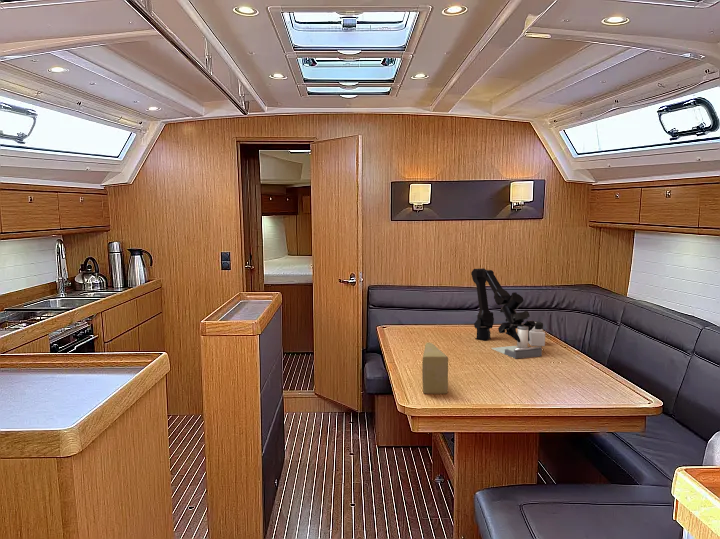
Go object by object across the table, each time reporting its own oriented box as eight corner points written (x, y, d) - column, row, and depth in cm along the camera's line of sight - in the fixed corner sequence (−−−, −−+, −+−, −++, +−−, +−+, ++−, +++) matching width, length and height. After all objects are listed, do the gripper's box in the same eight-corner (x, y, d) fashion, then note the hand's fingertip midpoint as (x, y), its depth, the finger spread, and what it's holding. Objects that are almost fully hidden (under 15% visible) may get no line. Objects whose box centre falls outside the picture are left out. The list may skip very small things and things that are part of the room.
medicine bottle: (541, 342, 262) (542, 320, 261) (545, 346, 255) (545, 323, 254) (527, 342, 263) (528, 320, 262) (531, 345, 256) (531, 323, 255)
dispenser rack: (504, 354, 240) (504, 345, 239) (530, 351, 244) (530, 342, 244) (515, 359, 232) (515, 349, 231) (541, 356, 236) (541, 346, 236)
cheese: (416, 375, 207) (416, 341, 205) (439, 375, 207) (440, 341, 205) (422, 394, 185) (422, 355, 183) (448, 394, 185) (448, 355, 183)
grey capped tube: (515, 355, 238) (515, 326, 237) (518, 352, 242) (519, 325, 241) (525, 356, 235) (526, 328, 234) (528, 354, 239) (529, 326, 238)
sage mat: (491, 348, 250) (491, 348, 250) (515, 346, 255) (515, 345, 255) (504, 354, 240) (504, 353, 240) (529, 351, 245) (529, 350, 245)
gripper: (502, 306, 237) (515, 333, 228) (534, 304, 243) (548, 330, 234) (492, 319, 245) (505, 346, 236) (523, 317, 251) (537, 343, 242)
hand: (524, 341), depth 237 cm, fingers closed on grey capped tube, 5 cm apart
